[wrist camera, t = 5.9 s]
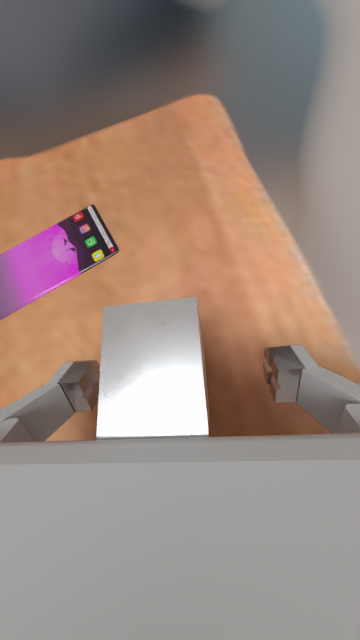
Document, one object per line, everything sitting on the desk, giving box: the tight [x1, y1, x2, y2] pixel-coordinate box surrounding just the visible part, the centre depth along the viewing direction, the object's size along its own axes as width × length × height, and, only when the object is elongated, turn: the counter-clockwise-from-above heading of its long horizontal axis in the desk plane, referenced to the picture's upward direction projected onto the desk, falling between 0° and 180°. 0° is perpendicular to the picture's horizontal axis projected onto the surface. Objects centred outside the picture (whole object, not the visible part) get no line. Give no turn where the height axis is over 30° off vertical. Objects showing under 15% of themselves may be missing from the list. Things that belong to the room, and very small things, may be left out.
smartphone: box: [0, 204, 119, 320], centre depth 21 cm, size 7×15×1 cm, turn 119°
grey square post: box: [96, 297, 209, 440], centre depth 11 cm, size 4×3×10 cm
